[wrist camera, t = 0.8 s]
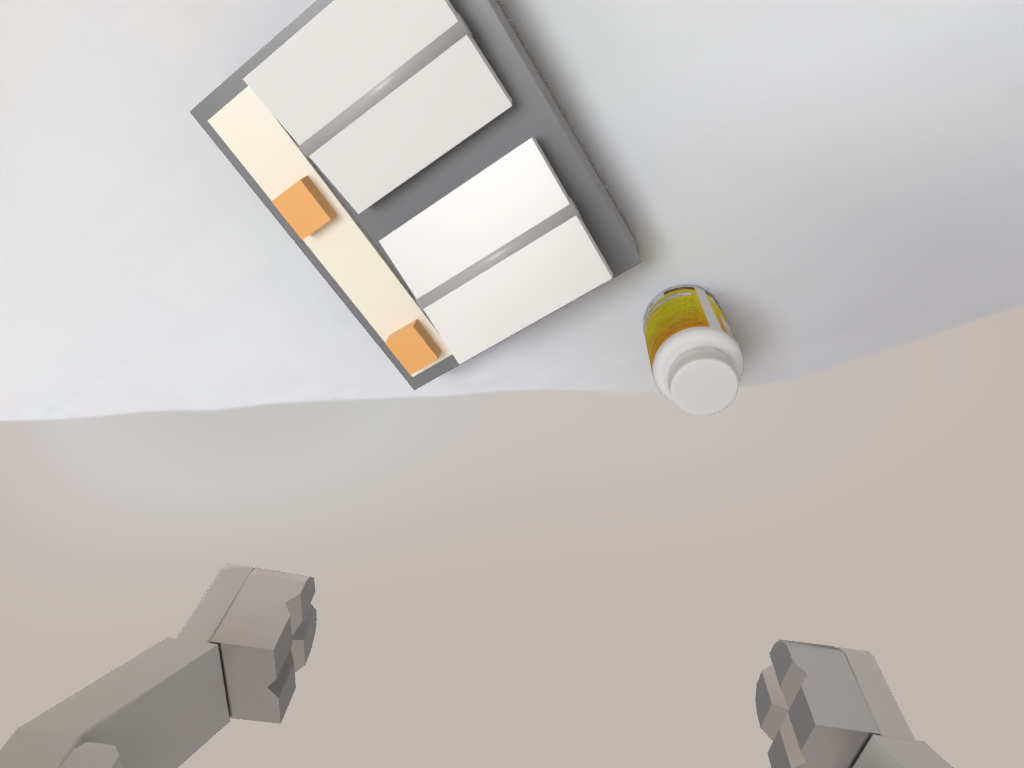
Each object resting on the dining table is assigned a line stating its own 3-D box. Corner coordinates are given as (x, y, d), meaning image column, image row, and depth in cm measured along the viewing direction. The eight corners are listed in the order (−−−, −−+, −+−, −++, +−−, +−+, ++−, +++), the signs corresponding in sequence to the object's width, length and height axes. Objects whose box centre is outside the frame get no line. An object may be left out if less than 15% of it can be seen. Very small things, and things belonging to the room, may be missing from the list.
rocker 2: (536, 136, 37) (532, 136, 36) (614, 273, 39) (613, 277, 38) (385, 238, 41) (377, 242, 40) (463, 358, 43) (457, 365, 42)
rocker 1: (410, -66, 32) (406, -64, 31) (513, 98, 36) (513, 105, 35) (249, 74, 36) (240, 80, 34) (361, 206, 40) (356, 215, 39)
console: (447, -86, 37) (423, -104, 31) (634, 238, 45) (642, 270, 40) (229, 101, 43) (176, 115, 38) (428, 358, 51) (409, 400, 46)
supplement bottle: (628, 334, 49) (639, 406, 40) (666, 269, 46) (687, 331, 37) (694, 364, 49) (719, 440, 41) (736, 301, 47) (772, 369, 38)
